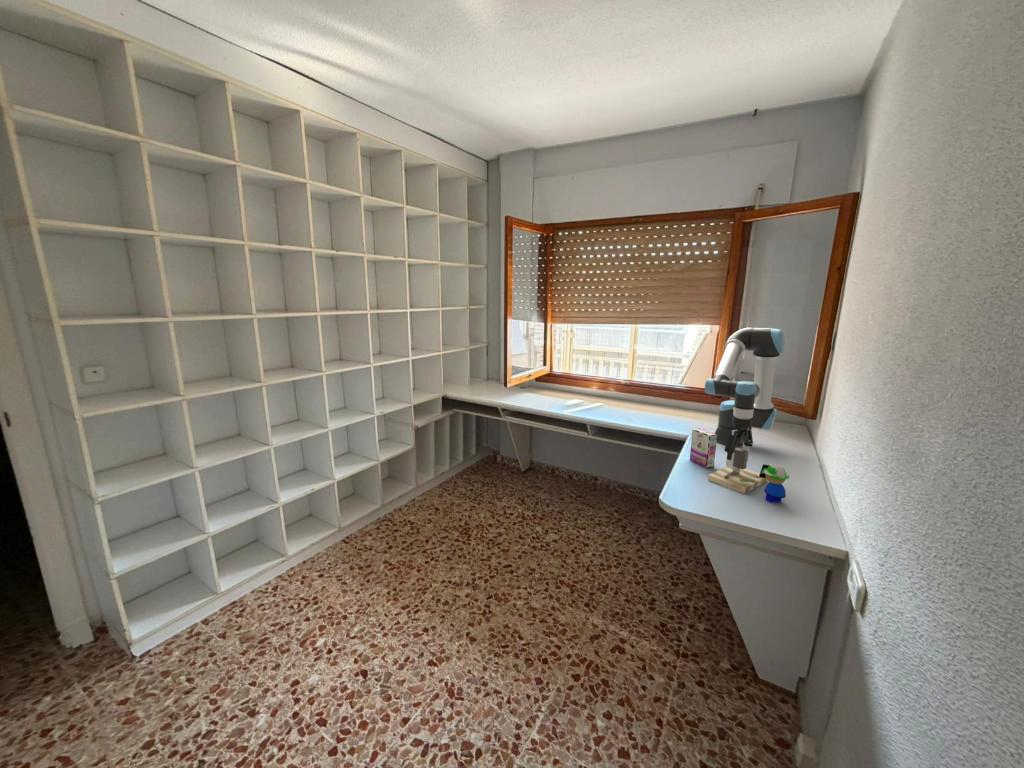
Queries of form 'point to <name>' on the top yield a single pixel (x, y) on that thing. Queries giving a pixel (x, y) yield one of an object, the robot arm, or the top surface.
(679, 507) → the top surface
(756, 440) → the top surface
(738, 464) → the peg
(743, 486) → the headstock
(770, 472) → the toy
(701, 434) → the candy bar box
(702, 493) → the top surface
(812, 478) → the top surface
